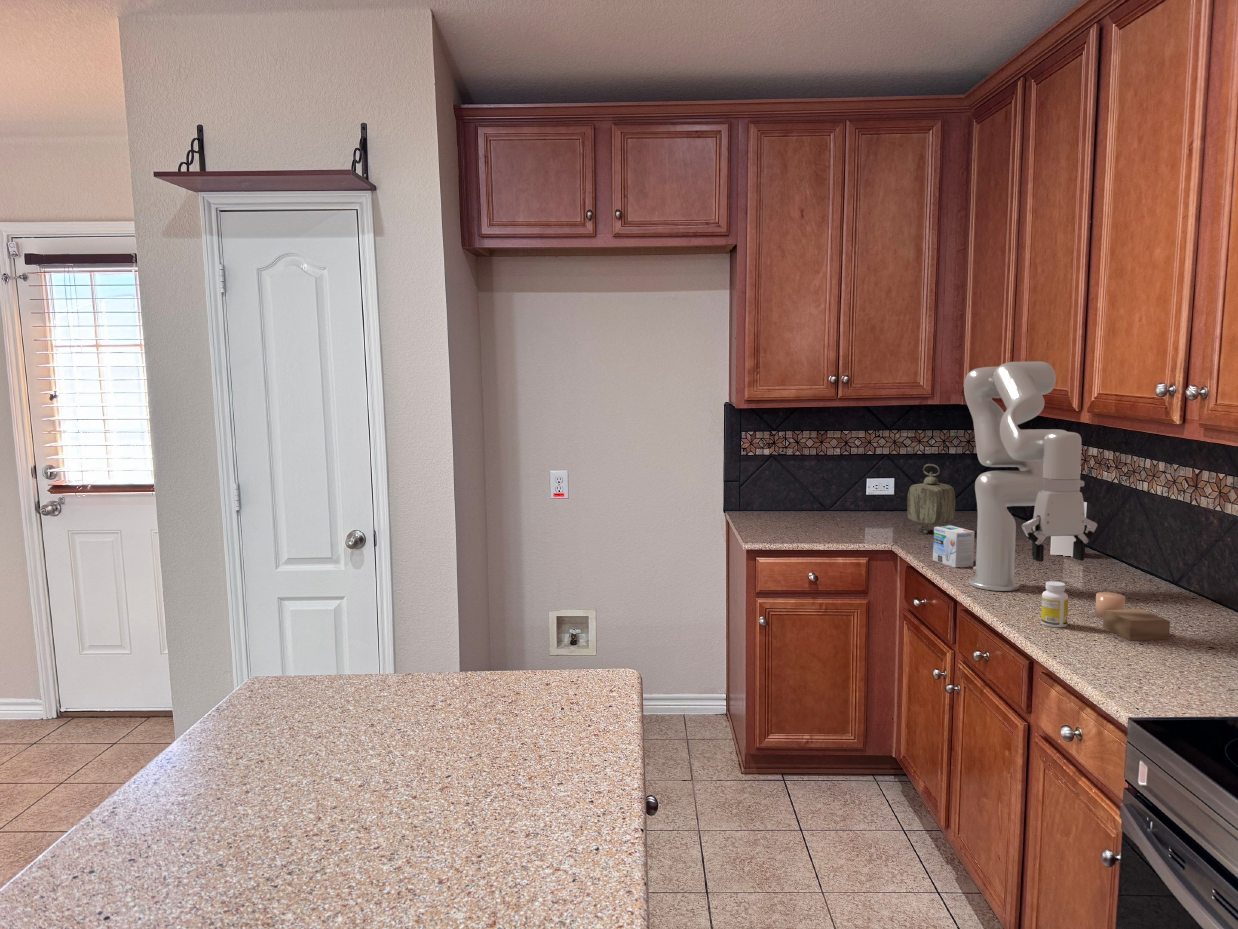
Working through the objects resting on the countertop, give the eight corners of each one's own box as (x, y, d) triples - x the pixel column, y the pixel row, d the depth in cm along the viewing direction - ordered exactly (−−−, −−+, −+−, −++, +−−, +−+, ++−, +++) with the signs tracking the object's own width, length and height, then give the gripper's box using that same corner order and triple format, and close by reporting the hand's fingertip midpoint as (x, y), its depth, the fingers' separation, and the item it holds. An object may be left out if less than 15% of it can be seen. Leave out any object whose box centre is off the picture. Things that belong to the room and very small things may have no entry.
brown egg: (1089, 612, 200) (1090, 592, 199) (1113, 611, 200) (1114, 591, 200) (1105, 620, 194) (1106, 599, 193) (1130, 619, 194) (1131, 598, 194)
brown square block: (1102, 627, 188) (1103, 609, 188) (1140, 626, 189) (1141, 608, 188) (1129, 640, 179) (1130, 621, 179) (1168, 639, 180) (1170, 620, 179)
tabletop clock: (954, 534, 293) (956, 465, 290) (938, 537, 288) (940, 467, 285) (920, 528, 305) (922, 461, 302) (903, 531, 300) (905, 463, 297)
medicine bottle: (1075, 557, 256) (1077, 519, 254) (1050, 555, 260) (1051, 517, 258) (1079, 553, 261) (1081, 516, 260) (1054, 550, 265) (1055, 514, 264)
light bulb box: (931, 560, 255) (932, 526, 254) (950, 558, 257) (951, 524, 256) (955, 568, 245) (956, 532, 244) (974, 566, 247) (975, 531, 246)
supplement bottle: (1058, 620, 194) (1060, 580, 193) (1072, 627, 188) (1074, 586, 187) (1036, 621, 194) (1038, 580, 193) (1048, 628, 188) (1050, 586, 187)
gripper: (1086, 483, 191) (1083, 555, 193) (1015, 485, 190) (1012, 557, 192) (1108, 487, 184) (1104, 562, 186) (1033, 489, 183) (1031, 564, 184)
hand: (1058, 560), depth 189 cm, fingers open, 9 cm apart
